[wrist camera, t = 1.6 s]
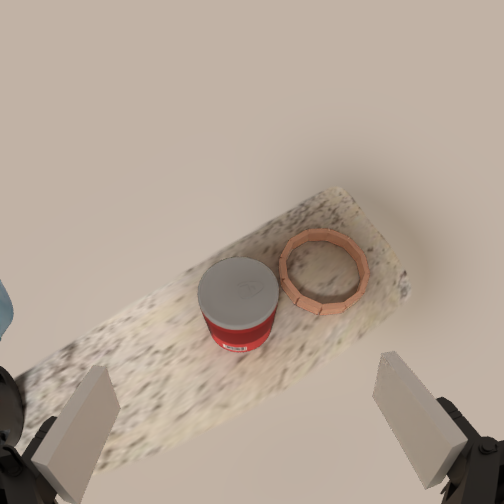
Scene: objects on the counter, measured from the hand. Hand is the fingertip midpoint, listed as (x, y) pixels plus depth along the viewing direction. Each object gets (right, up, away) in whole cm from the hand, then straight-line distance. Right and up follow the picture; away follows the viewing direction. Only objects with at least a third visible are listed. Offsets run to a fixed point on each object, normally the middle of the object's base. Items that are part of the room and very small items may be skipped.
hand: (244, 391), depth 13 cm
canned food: (-1, -3, +26) cm, 26 cm away
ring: (+10, +3, +30) cm, 32 cm away
